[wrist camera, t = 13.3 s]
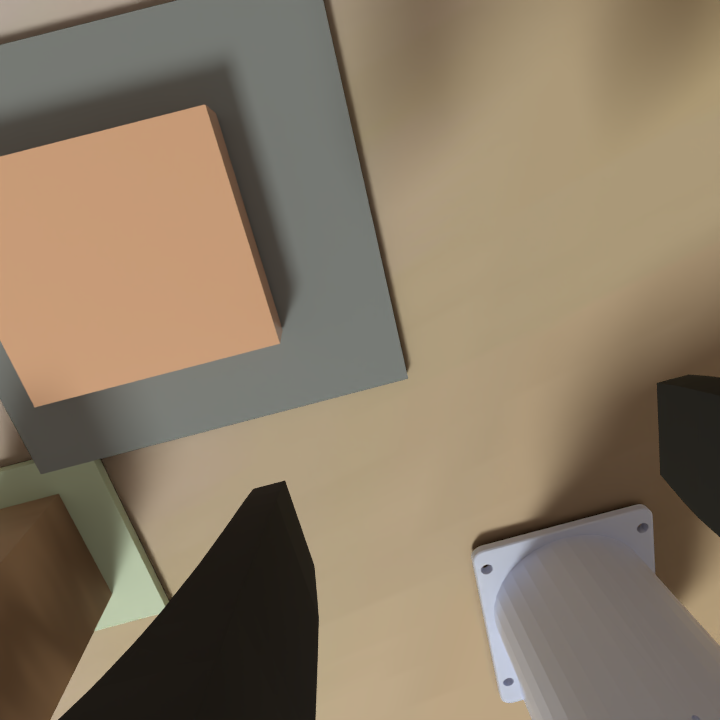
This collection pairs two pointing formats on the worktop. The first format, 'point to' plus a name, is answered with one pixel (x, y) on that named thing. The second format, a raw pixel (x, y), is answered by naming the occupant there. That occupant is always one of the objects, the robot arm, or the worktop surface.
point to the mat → (260, 197)
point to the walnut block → (43, 606)
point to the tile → (127, 257)
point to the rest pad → (95, 533)
